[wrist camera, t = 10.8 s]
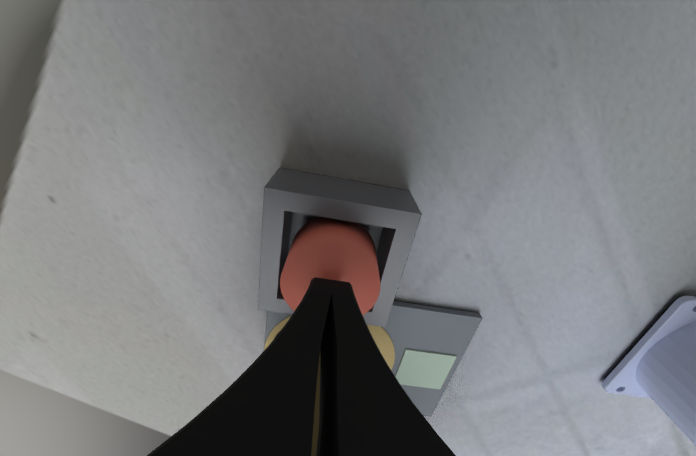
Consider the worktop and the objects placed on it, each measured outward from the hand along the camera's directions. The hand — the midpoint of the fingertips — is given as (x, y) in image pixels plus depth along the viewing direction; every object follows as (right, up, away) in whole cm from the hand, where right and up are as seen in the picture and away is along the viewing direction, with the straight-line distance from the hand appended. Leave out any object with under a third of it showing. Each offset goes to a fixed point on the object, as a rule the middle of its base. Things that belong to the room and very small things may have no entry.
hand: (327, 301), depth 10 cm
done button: (0, +1, +3) cm, 3 cm away
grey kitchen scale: (+2, -6, +8) cm, 10 cm away
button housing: (0, +2, +4) cm, 5 cm away
